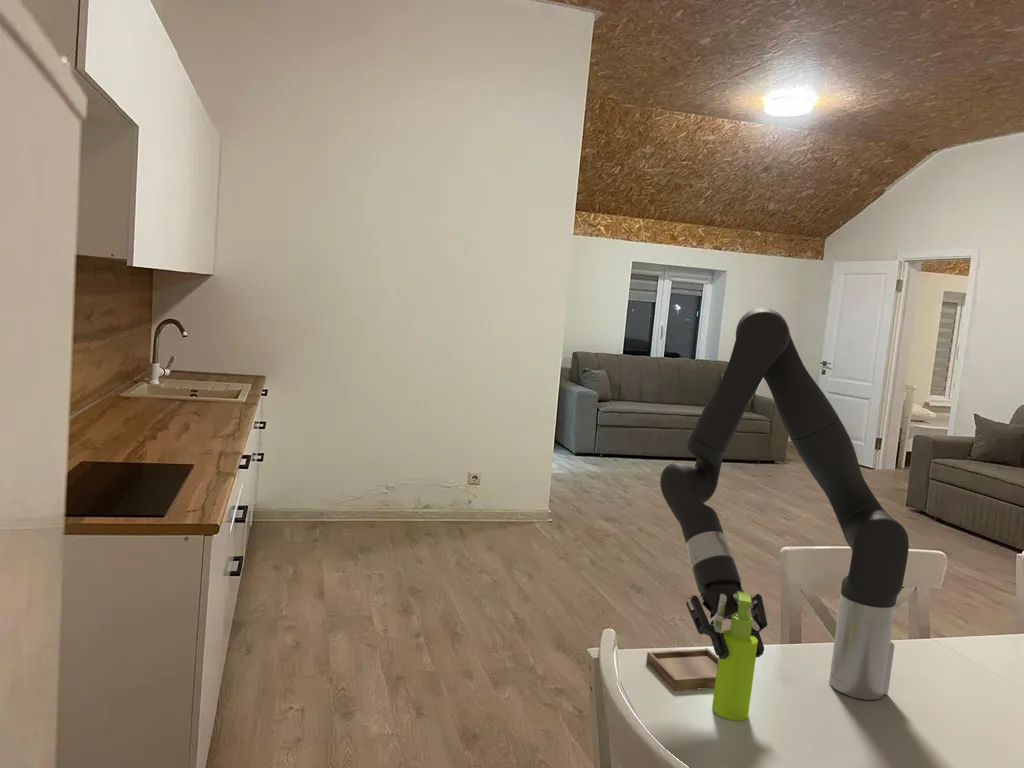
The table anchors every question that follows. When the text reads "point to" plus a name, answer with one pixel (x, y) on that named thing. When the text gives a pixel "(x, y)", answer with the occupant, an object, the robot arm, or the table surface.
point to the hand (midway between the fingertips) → (741, 656)
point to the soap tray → (685, 668)
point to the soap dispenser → (736, 665)
